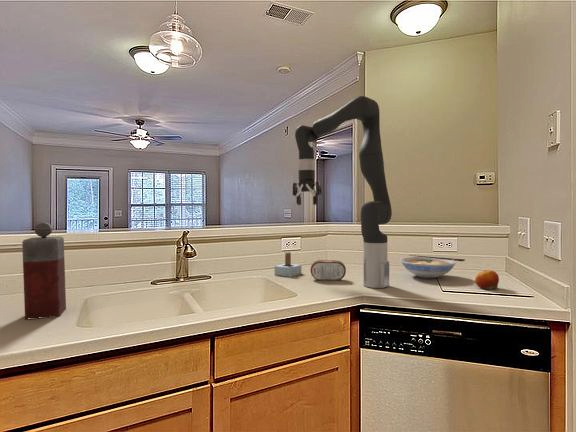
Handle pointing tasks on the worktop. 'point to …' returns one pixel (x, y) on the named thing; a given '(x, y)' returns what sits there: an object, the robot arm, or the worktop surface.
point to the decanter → (44, 274)
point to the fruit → (487, 279)
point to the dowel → (288, 259)
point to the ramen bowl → (429, 265)
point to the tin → (328, 270)
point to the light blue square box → (287, 270)
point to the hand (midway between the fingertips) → (306, 204)
